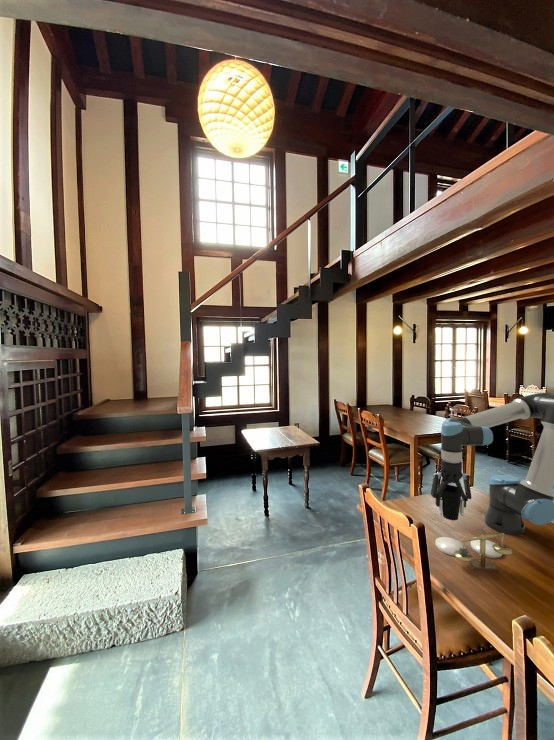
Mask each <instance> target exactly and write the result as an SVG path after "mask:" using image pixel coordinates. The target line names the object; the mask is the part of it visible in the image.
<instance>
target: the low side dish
mask: <svg viewBox="0 0 554 740" xmlns="http://www.w3.org/2000/svg"><path fill="white" fill-rule="evenodd" d="M435 548H437V550H439V551H440V552H441V553H443V554H446V555H449V556H451V557H455V555H454V552H455V551H457V550H459V548H463V542H461V541H460V540H457V539H456V538H453V537H447V536H440V537H437V538H436V539H435ZM464 549H466V550H467V548H466V546H465V545H464Z"/></svg>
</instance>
